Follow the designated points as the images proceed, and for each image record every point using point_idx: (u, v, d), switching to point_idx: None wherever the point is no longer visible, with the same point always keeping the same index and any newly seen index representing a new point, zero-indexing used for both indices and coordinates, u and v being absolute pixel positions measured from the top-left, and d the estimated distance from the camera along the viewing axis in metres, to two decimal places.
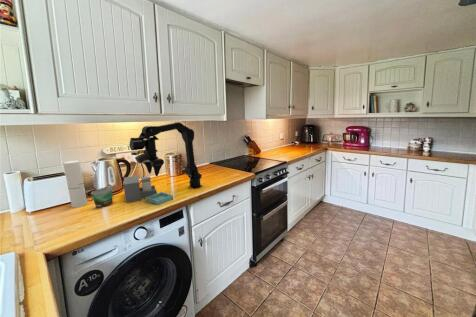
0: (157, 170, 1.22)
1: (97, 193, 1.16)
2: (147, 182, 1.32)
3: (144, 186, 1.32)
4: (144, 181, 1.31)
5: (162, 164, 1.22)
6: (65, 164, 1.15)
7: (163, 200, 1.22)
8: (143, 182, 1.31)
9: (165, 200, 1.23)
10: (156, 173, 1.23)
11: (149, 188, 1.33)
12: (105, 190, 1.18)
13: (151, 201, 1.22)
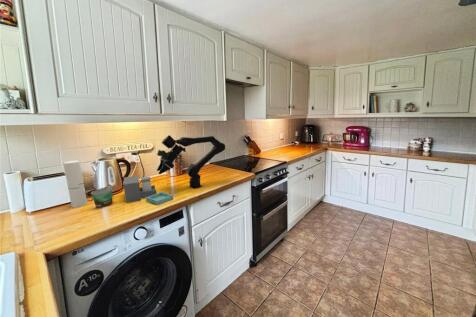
0: (163, 170, 1.32)
1: (97, 193, 1.16)
2: (147, 182, 1.32)
3: (144, 186, 1.32)
4: (144, 181, 1.31)
5: (170, 168, 1.32)
6: (65, 164, 1.15)
7: (163, 200, 1.22)
8: (143, 182, 1.31)
9: (165, 200, 1.23)
10: (160, 171, 1.32)
11: (149, 188, 1.33)
12: (105, 190, 1.18)
13: (151, 201, 1.22)
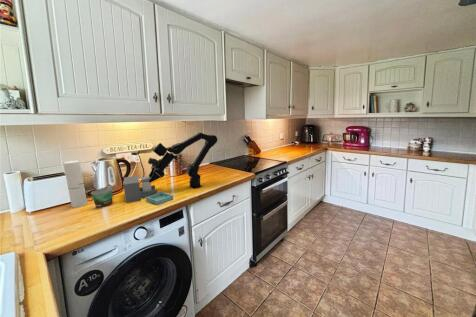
0: (153, 178, 1.30)
1: (97, 193, 1.16)
2: (147, 182, 1.32)
3: (144, 186, 1.32)
4: (144, 181, 1.31)
5: (161, 177, 1.30)
6: (65, 164, 1.15)
7: (163, 200, 1.22)
8: (143, 182, 1.31)
9: (165, 200, 1.23)
10: (151, 180, 1.30)
11: (149, 188, 1.33)
12: (105, 190, 1.18)
13: (151, 201, 1.22)
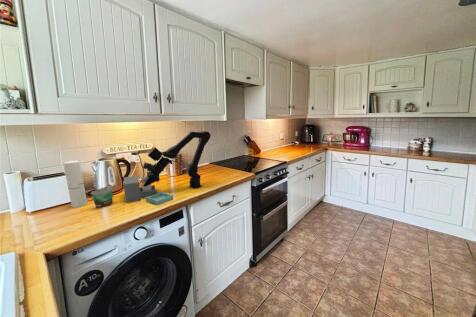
0: (148, 182, 1.31)
1: (97, 193, 1.16)
2: None
3: None
4: (144, 181, 1.31)
5: (155, 181, 1.31)
6: (65, 164, 1.15)
7: (163, 200, 1.22)
8: (143, 182, 1.31)
9: (165, 200, 1.23)
10: (145, 184, 1.31)
11: (149, 188, 1.33)
12: (105, 190, 1.18)
13: (151, 201, 1.22)
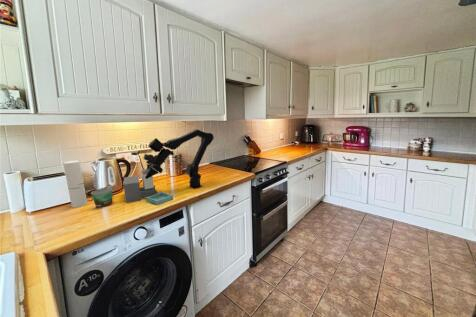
0: (150, 174, 1.28)
1: (97, 193, 1.16)
2: None
3: (145, 178, 1.28)
4: (145, 173, 1.27)
5: (158, 172, 1.28)
6: (65, 164, 1.15)
7: (163, 200, 1.22)
8: (144, 174, 1.27)
9: (165, 200, 1.23)
10: (147, 176, 1.27)
11: (151, 180, 1.30)
12: (105, 190, 1.18)
13: (151, 201, 1.22)
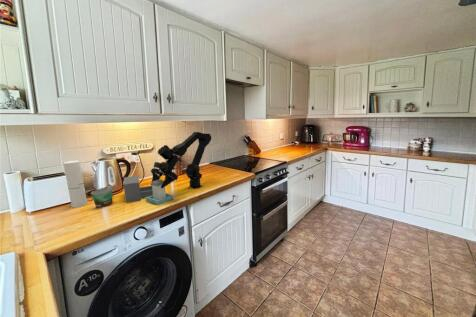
0: (166, 183, 1.22)
1: (97, 193, 1.16)
2: None
3: (159, 190, 1.22)
4: (159, 184, 1.22)
5: (174, 180, 1.24)
6: (65, 164, 1.15)
7: (163, 200, 1.22)
8: (158, 186, 1.22)
9: (165, 200, 1.23)
10: (163, 185, 1.21)
11: (163, 191, 1.25)
12: (105, 190, 1.18)
13: (151, 201, 1.22)
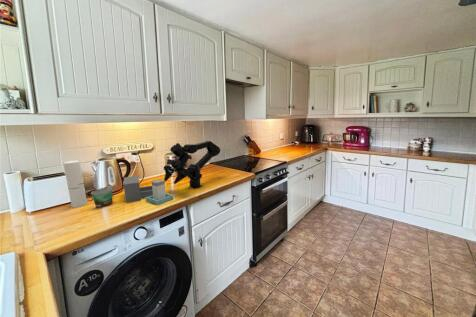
0: (178, 179, 1.29)
1: (97, 193, 1.16)
2: (162, 185, 1.24)
3: (159, 190, 1.22)
4: (159, 184, 1.22)
5: None
6: (65, 164, 1.15)
7: (163, 200, 1.22)
8: (158, 186, 1.22)
9: (165, 200, 1.23)
10: (176, 181, 1.28)
11: (163, 191, 1.25)
12: (105, 190, 1.18)
13: (151, 201, 1.22)
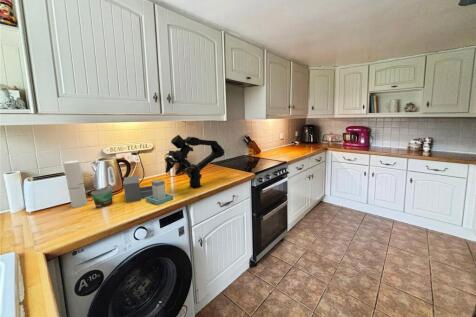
0: (180, 170, 1.31)
1: (97, 193, 1.16)
2: (162, 185, 1.24)
3: (159, 190, 1.22)
4: (159, 184, 1.22)
5: (187, 167, 1.32)
6: (65, 164, 1.15)
7: (163, 200, 1.22)
8: (158, 186, 1.22)
9: (165, 200, 1.23)
10: (177, 172, 1.30)
11: (163, 191, 1.25)
12: (105, 190, 1.18)
13: (151, 201, 1.22)
